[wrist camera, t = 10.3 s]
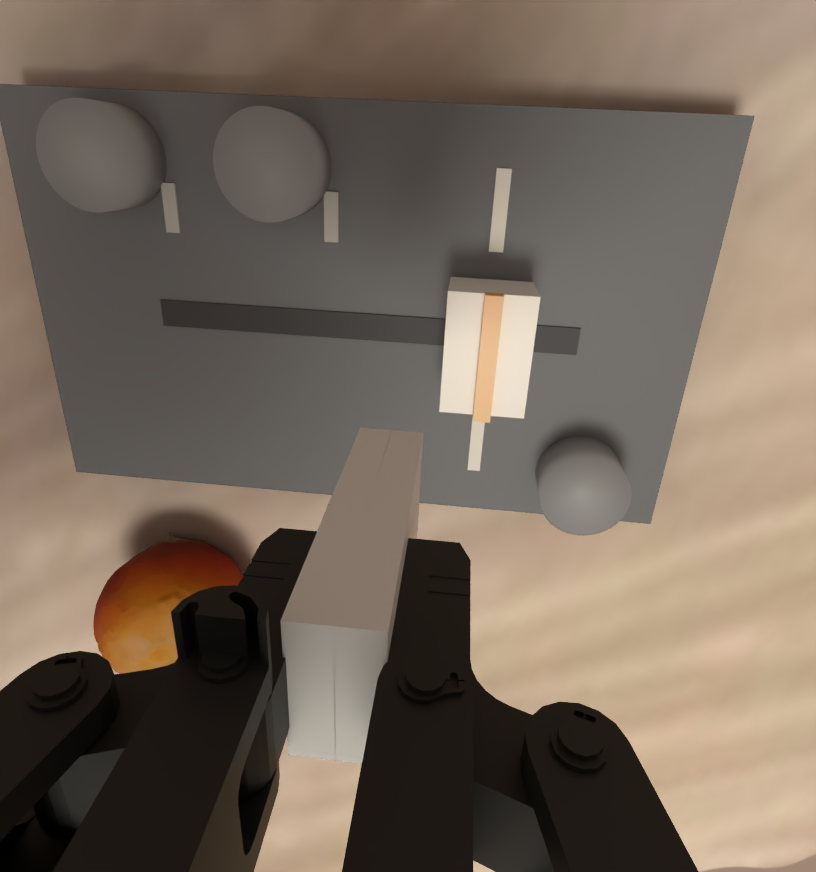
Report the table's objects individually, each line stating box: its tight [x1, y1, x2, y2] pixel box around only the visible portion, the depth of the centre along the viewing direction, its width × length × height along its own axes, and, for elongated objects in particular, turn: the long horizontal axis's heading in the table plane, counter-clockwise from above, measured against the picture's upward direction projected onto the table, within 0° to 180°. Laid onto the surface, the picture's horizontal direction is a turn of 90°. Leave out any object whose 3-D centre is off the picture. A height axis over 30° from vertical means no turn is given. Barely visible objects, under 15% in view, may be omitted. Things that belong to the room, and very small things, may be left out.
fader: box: [439, 277, 541, 423], centre depth 25 cm, size 4×5×4 cm
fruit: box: [94, 533, 243, 674], centre depth 34 cm, size 8×8×8 cm
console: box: [0, 84, 754, 535], centre depth 27 cm, size 30×18×4 cm, turn 87°
